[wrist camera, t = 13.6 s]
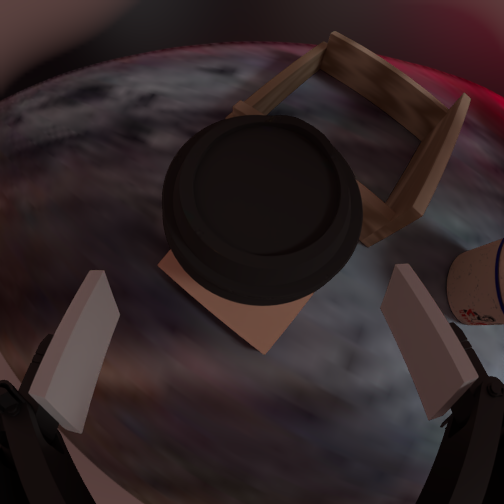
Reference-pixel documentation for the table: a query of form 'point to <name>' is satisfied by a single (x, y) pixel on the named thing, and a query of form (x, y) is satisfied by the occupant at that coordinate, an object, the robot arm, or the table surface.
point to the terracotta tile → (238, 309)
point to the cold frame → (394, 104)
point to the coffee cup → (261, 209)
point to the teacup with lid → (478, 285)
